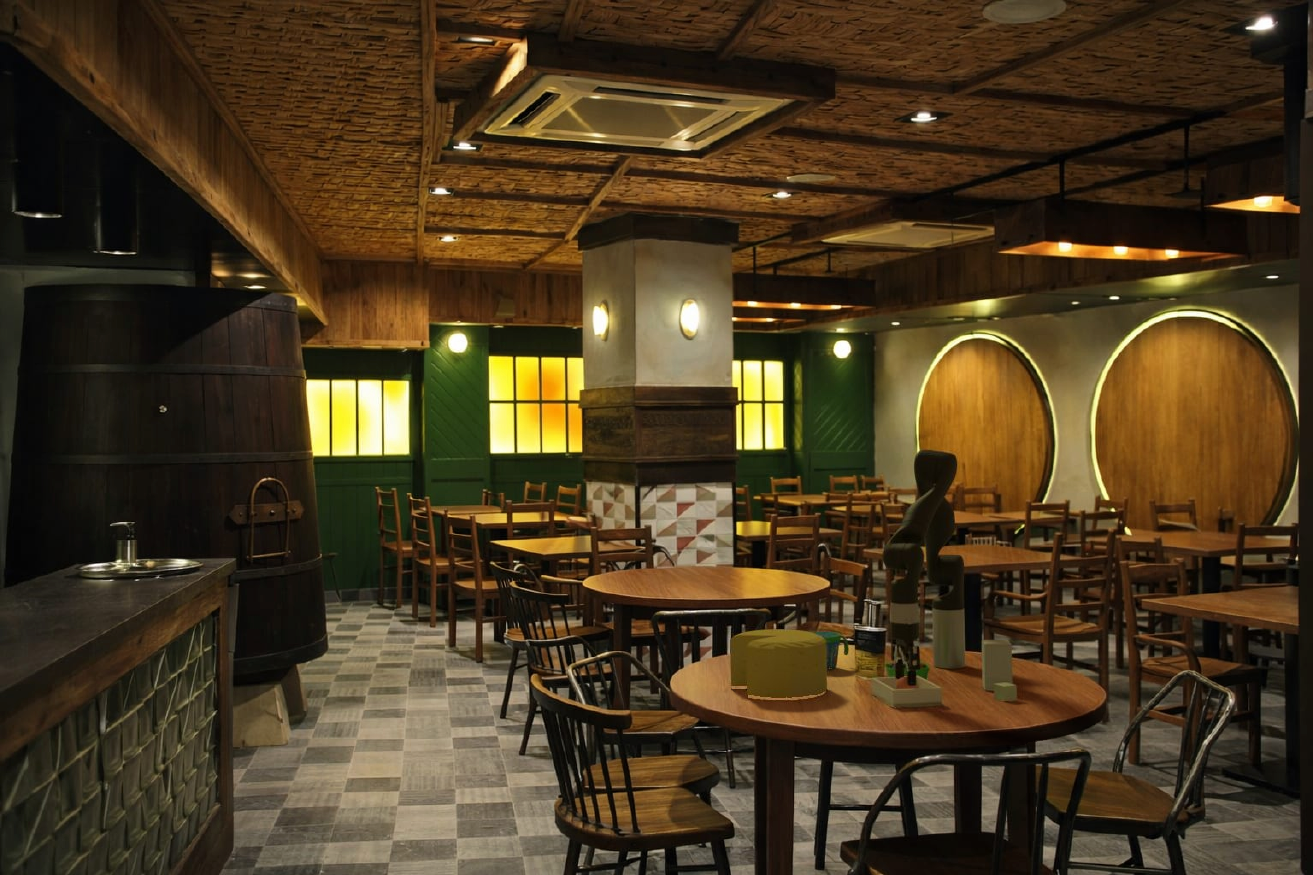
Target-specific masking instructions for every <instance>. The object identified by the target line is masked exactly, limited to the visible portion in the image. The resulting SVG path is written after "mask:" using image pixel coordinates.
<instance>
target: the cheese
mask: <svg viewBox="0 0 1313 875" xmlns="http://www.w3.org/2000/svg"><path fill="white" fill-rule="evenodd" d="M812 632H813V631H806V630H800V629H799V630H797V629H786V628H785V629H782V628H781V629H778V628H777V629H776V628H775V629H774V628H773V629H759V630H758V629H756V630H751V631H750V630H749V631H745V632H741V633H738V634H736V635H734V636H732V638H730V639H729V649H730V650H729V651H730V654H729V655H730V687H731V686H747V690H746V696H747V695H754V696H760V697H771V698H786V697H787V698H792V697H803V696H809V695H818V694H821V693H823V692H825V691H826V689H827V690H828V680H827V679H828V676H827V675H828V674H827V672H828V670H827V659H826V640H825V639H824V638H823V637H822V636H820V635H817V634H814V633H812Z"/></svg>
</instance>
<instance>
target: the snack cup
mask: <svg viewBox="0 0 1313 875" xmlns="http://www.w3.org/2000/svg"><path fill="white" fill-rule="evenodd" d="M811 632H812V633H814V634H817V635H820V636H822V637H823V638H824V639H825V640H826V659H827V669H829V668H834V669H836V667H837V665H838V659H839V658H838V656H839V648H840V647H839V646H840V642H841V640H843V654H844V656H848V655H849V651H850V650H849V643H848V640H847V638H846V637H845V636H843V635H841V633H839V632H837V631H836V632H835V631H811ZM829 670H830V669H829Z"/></svg>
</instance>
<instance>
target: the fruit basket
mask: <svg viewBox="0 0 1313 875" xmlns="http://www.w3.org/2000/svg"><path fill="white" fill-rule="evenodd" d="M916 664H917V662H916ZM902 665H904V676H907V668H906V664H902ZM884 667H885V669H886V672H887V673H886V674H887V677H895V664H894V662H890V663H884ZM930 668H931V667H930V666H929V665H928V664H927V663H925V662H920V670H917V671H916V676H920V677H922V678H924V679H926V680H927V681H928V673H929V671H930Z"/></svg>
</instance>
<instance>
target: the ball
mask: <svg viewBox="0 0 1313 875" xmlns="http://www.w3.org/2000/svg"><path fill="white" fill-rule="evenodd" d="M896 689H916V686H908V685H907V677H902V678H900V679H899V680H898V681H897V683H896Z"/></svg>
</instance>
